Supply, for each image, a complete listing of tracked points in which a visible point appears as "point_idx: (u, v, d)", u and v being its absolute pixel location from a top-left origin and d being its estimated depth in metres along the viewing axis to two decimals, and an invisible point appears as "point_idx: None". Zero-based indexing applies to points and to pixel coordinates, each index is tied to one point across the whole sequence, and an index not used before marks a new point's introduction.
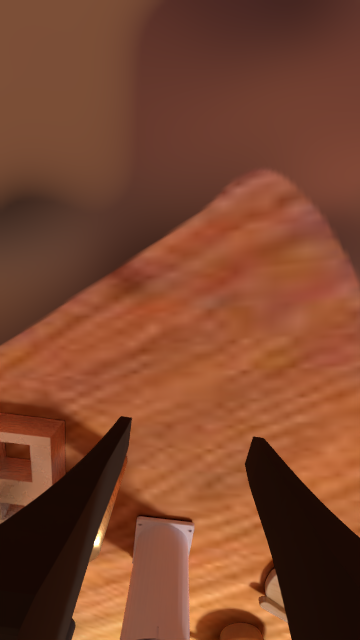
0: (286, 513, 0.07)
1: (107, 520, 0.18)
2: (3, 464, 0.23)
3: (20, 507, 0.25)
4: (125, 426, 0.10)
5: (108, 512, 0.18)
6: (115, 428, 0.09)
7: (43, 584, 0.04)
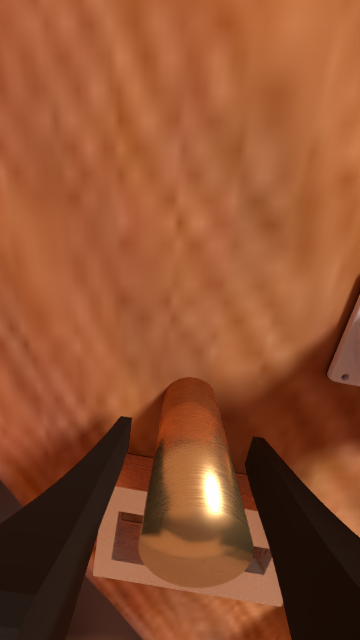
0: (286, 513, 0.07)
1: (192, 457, 0.08)
2: None
3: None
4: (125, 426, 0.10)
5: (186, 448, 0.08)
6: (115, 428, 0.09)
7: (43, 584, 0.04)
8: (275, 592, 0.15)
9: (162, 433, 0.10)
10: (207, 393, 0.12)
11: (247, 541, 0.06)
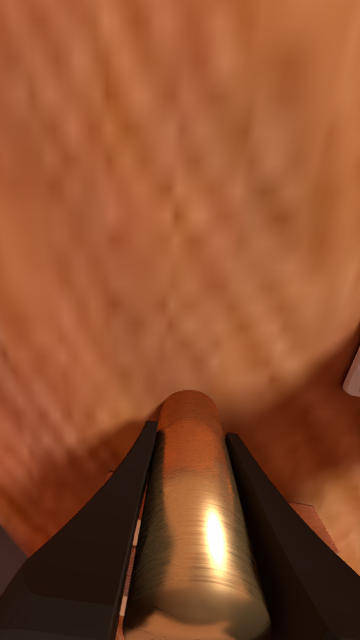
0: (248, 507, 0.07)
1: (192, 500, 0.06)
2: None
3: None
4: (154, 430, 0.10)
5: (184, 486, 0.07)
6: (145, 433, 0.09)
7: (116, 594, 0.04)
8: None
9: (156, 462, 0.08)
10: (208, 409, 0.11)
11: (264, 623, 0.05)
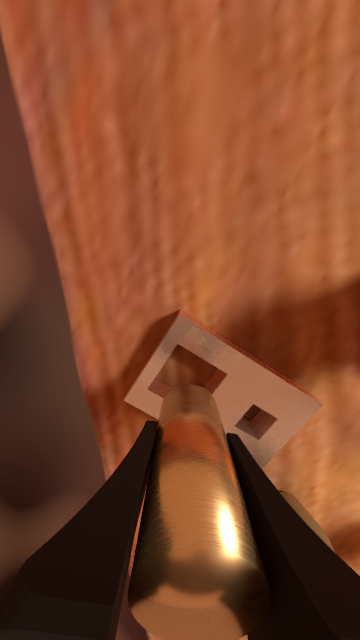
0: (248, 507, 0.07)
1: (196, 478, 0.07)
2: None
3: (259, 421, 0.20)
4: (154, 430, 0.10)
5: (189, 466, 0.07)
6: (145, 433, 0.09)
7: (117, 594, 0.04)
8: (259, 459, 0.19)
9: (159, 447, 0.09)
10: (210, 403, 0.11)
11: (263, 591, 0.05)
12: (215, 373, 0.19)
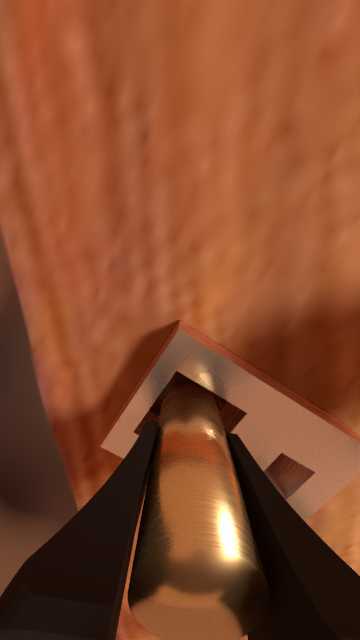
0: (248, 507, 0.07)
1: (196, 479, 0.07)
2: None
3: (286, 469, 0.15)
4: (154, 430, 0.10)
5: (189, 467, 0.07)
6: (145, 433, 0.09)
7: (116, 594, 0.04)
8: None
9: (159, 447, 0.09)
10: (210, 403, 0.11)
11: (263, 591, 0.05)
12: (227, 405, 0.14)
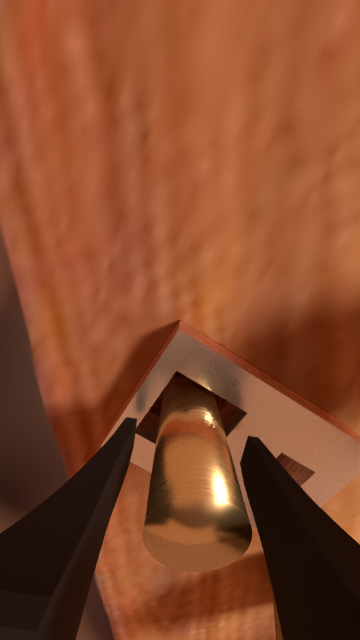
0: (279, 512, 0.07)
1: (195, 449, 0.08)
2: None
3: (286, 469, 0.15)
4: (131, 427, 0.10)
5: (189, 441, 0.08)
6: (121, 429, 0.09)
7: (58, 586, 0.04)
8: None
9: (164, 426, 0.10)
10: (207, 390, 0.13)
11: (246, 528, 0.07)
12: (227, 405, 0.14)
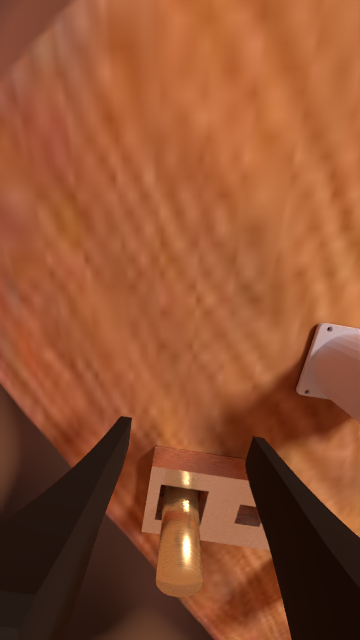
0: (286, 513, 0.07)
1: (171, 538, 0.17)
2: (199, 507, 0.23)
3: None
4: (125, 426, 0.10)
5: (169, 533, 0.18)
6: (115, 428, 0.09)
7: (43, 584, 0.04)
8: None
9: (161, 521, 0.19)
10: None
11: (196, 574, 0.16)
12: None
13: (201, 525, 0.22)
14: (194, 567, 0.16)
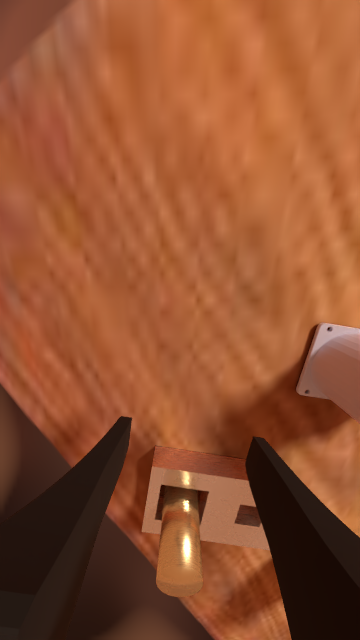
0: (286, 513, 0.07)
1: (171, 538, 0.17)
2: (199, 507, 0.23)
3: None
4: (125, 426, 0.10)
5: (169, 533, 0.18)
6: (115, 428, 0.09)
7: (43, 584, 0.04)
8: None
9: (162, 520, 0.19)
10: None
11: (197, 574, 0.16)
12: None
13: (201, 525, 0.22)
14: (194, 567, 0.16)
